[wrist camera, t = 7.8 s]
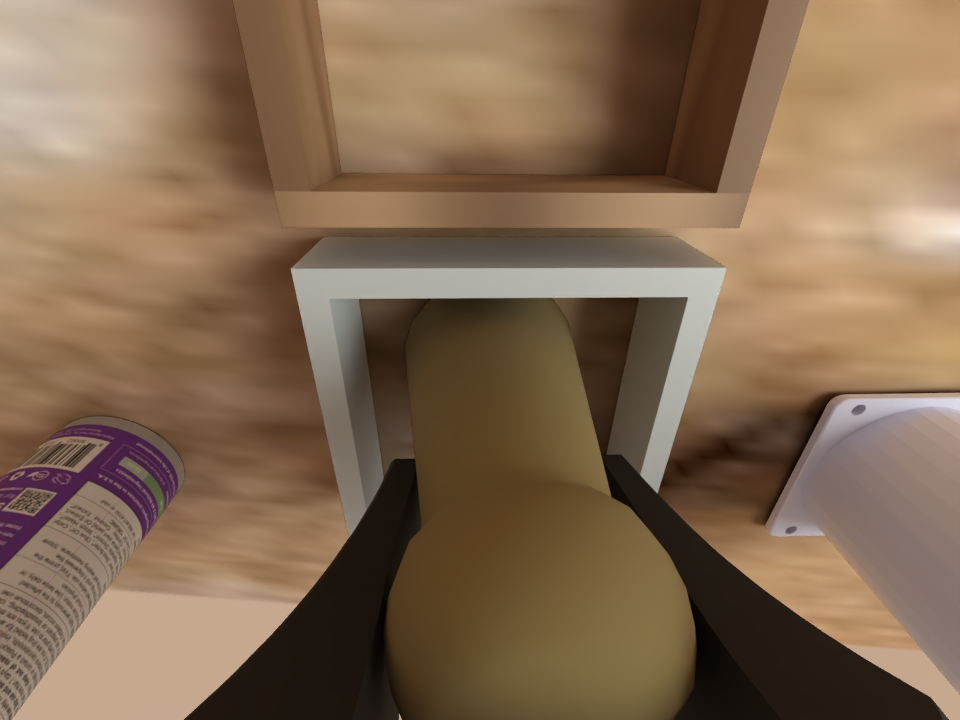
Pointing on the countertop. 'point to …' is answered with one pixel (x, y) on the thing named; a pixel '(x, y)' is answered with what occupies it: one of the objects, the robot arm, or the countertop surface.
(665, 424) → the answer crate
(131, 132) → the countertop surface
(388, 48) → the countertop surface
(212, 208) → the countertop surface
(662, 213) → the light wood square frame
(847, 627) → the countertop surface
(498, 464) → the olive rounded piece
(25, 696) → the container
